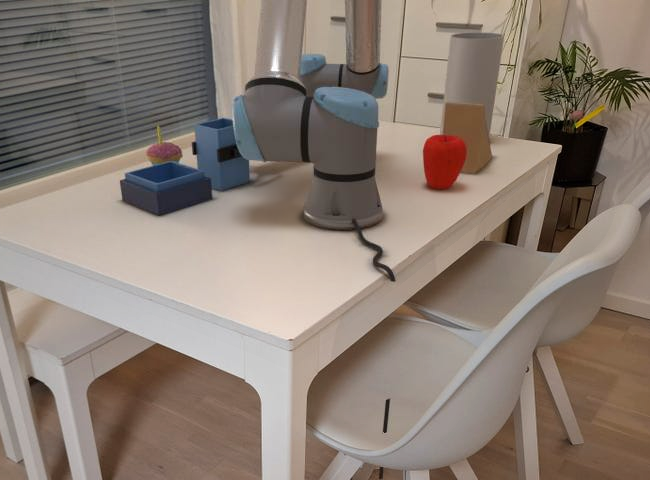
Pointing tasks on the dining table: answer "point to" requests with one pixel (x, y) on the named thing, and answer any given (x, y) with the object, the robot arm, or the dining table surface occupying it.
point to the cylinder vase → (473, 71)
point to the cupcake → (163, 152)
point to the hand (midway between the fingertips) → (205, 152)
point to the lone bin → (207, 144)
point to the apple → (443, 160)
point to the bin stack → (165, 187)
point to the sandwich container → (469, 132)
